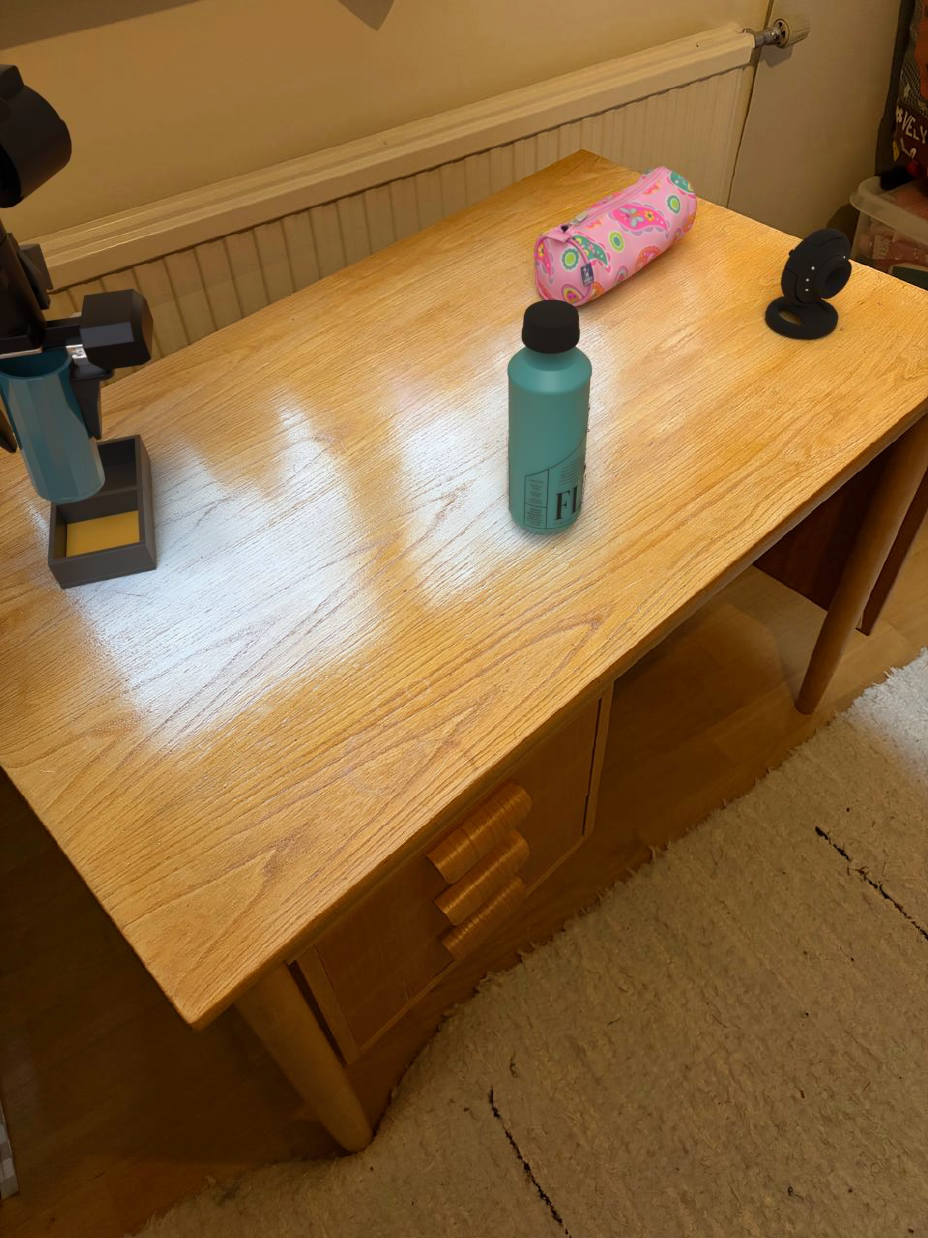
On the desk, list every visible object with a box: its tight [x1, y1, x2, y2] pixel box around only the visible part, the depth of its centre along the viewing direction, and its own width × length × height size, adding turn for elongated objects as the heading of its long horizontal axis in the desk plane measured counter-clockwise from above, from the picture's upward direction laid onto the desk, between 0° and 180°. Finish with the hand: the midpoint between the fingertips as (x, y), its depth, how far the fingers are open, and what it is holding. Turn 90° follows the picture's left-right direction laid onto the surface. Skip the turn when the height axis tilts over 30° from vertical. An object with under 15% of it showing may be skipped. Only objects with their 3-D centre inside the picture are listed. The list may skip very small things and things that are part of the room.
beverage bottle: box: [505, 299, 593, 534], centre depth 68 cm, size 6×7×20 cm
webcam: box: [764, 227, 853, 340], centre depth 90 cm, size 8×8×10 cm
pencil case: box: [533, 165, 698, 308], centre depth 99 cm, size 21×9×9 cm, turn 136°
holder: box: [47, 433, 157, 590], centre depth 77 cm, size 15×8×3 cm, turn 15°
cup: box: [0, 349, 105, 503], centre depth 65 cm, size 5×5×11 cm
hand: (57, 442), depth 66 cm, fingers closed on cup, 6 cm apart
